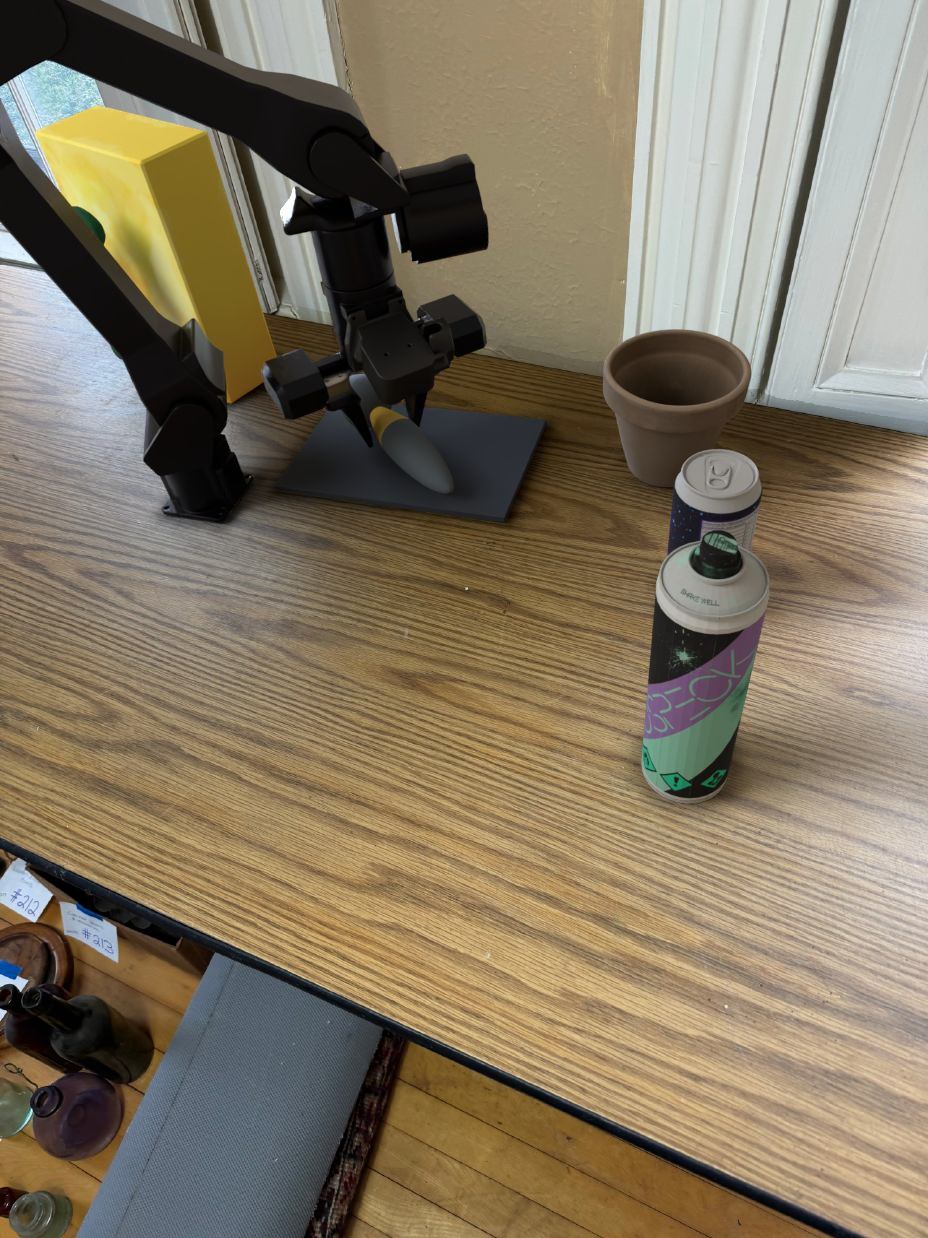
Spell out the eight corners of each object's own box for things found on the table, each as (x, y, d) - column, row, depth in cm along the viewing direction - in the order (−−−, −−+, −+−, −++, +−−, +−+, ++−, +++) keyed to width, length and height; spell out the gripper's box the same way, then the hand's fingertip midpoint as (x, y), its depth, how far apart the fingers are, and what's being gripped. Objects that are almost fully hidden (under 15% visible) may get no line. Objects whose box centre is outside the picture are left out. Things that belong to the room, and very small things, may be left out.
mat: (276, 491, 79) (274, 486, 78) (337, 402, 87) (335, 397, 87) (504, 523, 72) (504, 517, 72) (546, 424, 81) (546, 419, 80)
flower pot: (760, 453, 75) (779, 350, 67) (691, 527, 70) (704, 424, 62) (647, 411, 80) (653, 312, 73) (576, 477, 75) (574, 378, 68)
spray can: (632, 736, 57) (648, 511, 42) (714, 725, 57) (759, 495, 42) (651, 809, 53) (675, 590, 39) (739, 798, 53) (797, 574, 38)
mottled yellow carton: (97, 380, 95) (-17, 151, 77) (185, 328, 101) (97, 103, 83) (192, 430, 87) (88, 185, 69) (282, 371, 92) (208, 130, 74)
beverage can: (745, 576, 65) (770, 450, 56) (735, 631, 62) (760, 506, 53) (670, 565, 67) (683, 440, 58) (656, 617, 64) (667, 494, 55)
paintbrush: (486, 482, 75) (480, 435, 71) (441, 509, 73) (433, 463, 69) (366, 393, 86) (355, 348, 83) (324, 414, 85) (311, 370, 81)
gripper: (279, 359, 60) (329, 524, 72) (511, 275, 64) (523, 444, 76) (234, 296, 67) (287, 455, 79) (446, 224, 71) (466, 386, 83)
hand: (392, 436), depth 79 cm, fingers closed on paintbrush, 4 cm apart
